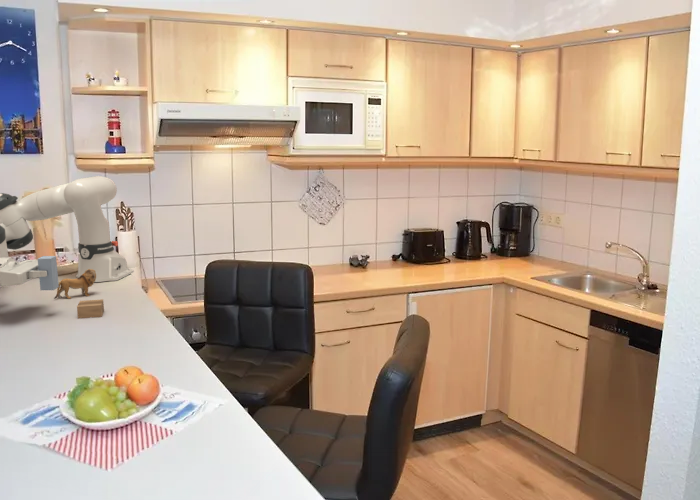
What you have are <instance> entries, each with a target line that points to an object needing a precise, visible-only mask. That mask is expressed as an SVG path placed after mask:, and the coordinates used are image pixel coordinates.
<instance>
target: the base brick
mask: <svg viewBox="0 0 700 500" xmlns="http://www.w3.org/2000/svg"><path fill="white" fill-rule="evenodd" d="M76 312H77V319H88V318H90V317H92V318H103V315H104V313H105V303H104V299H103V298H102V299H88V300H79V302H78V304H77V305H76Z"/></svg>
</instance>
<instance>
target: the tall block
mask: <svg viewBox="0 0 700 500" xmlns="http://www.w3.org/2000/svg"><path fill="white" fill-rule="evenodd" d="M37 259H38V269H39V271H41V270H48V276H46V277H38V280H39V287H40V289H39V290H40V291H55V290H57V288H58V287H59V274H58V264H57V256H56V255H42V256H41V257H38V258H37Z"/></svg>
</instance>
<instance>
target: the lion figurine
mask: <svg viewBox="0 0 700 500" xmlns="http://www.w3.org/2000/svg"><path fill="white" fill-rule="evenodd" d="M95 280H96V273H95V270H93V269H88V270H86V271H85V273H83V274H82V275H81V276H80V277H79V278H77V277H76V278H63V279H61V280H60V281H58V284H59V287H58V288H56V295H55V296H54V297H53V299H55V300H56V299H57V298H58V299H61V298H62V297H63V296H62V295H61V293H63V291H64V296H65V297H66V298H67V299H69V300H71V299H72V297H71V296H69V291H70V288H71V289H74V290H78V289H80V290H81V295H82V296H85V297H89V296H90V294H89V288H90V287H93V285H94V283H96V282H95Z"/></svg>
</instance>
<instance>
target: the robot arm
mask: <svg viewBox="0 0 700 500" xmlns="http://www.w3.org/2000/svg"><path fill="white" fill-rule="evenodd" d="M117 192H118V188H117V185H116V183H115V182H114V181H113V179H111V178H109V177H106V176H101V175H96V176H90V177H84V178H82V177H81V178H76V179H74V180H73V181H71V182H68V183H64V184H60V185H56V186H51V187H48V188H45V189H42V190H41V189H40V190H38V191H35V192H32V193H30V194H28V195H25V196H24V197H23V198H22V197H21V199H19V200H18V198H19V197H17V196H16V195H11V194H9V193H4V192H0V289H1V288H2V287H3V288H4V287H12V286H14V287H15V286H20V285H23V284H25V283H27V282H29V281H31V280H32V279H36V278H39V277H46V276H48V270H41V271H39V269H38V258H37V259H27V260H22V261H21V262H20V261H16V260H15V258H14V257H10V256H9V252H8V250H19V249H23V248H24V247H26V246H28V245H29V244H30V243H31V242H32V241H33V239H34V235H33V234H34V233H33V231H32V229H31V228H30V227H29V224H28V222H27V221H30V222H35V221H44V220H48V219H53V218H56V217H61V216H63V215H68V214H71V213H73V214H74V216H75V220H76V223H77V231H78V241H79V242H78V243H77V245H78V246H77V249H78V253H79V255H78V261H77V263H78V264H77V273H76V279H77V278H79V277H80V276H81V275H82V274H83V273H85V271H86V270H88V269H93V270H95V273H96V280H95V282H94V283H100V282H101V283H103V282H111V281H119V280H120V279H123V278H126V277H127V276H129V275H130V274H133V273H134V272H135V271H134V269H132V268H128V264H127V259H126V257H124V256H123V255H121V254H120V253H119V252H117V251H116V250H115V248H114V247H118V245H119V242H118V241H117V240H112V241H111V234H110V232H111V231H110V222H109V220H108V218H107V217H105V215H104V212H103V209H102V206H101V205H106V204H107V203H109V202H111V201H112V200H113V199H114V198H115V197H116V196H117Z"/></svg>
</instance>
